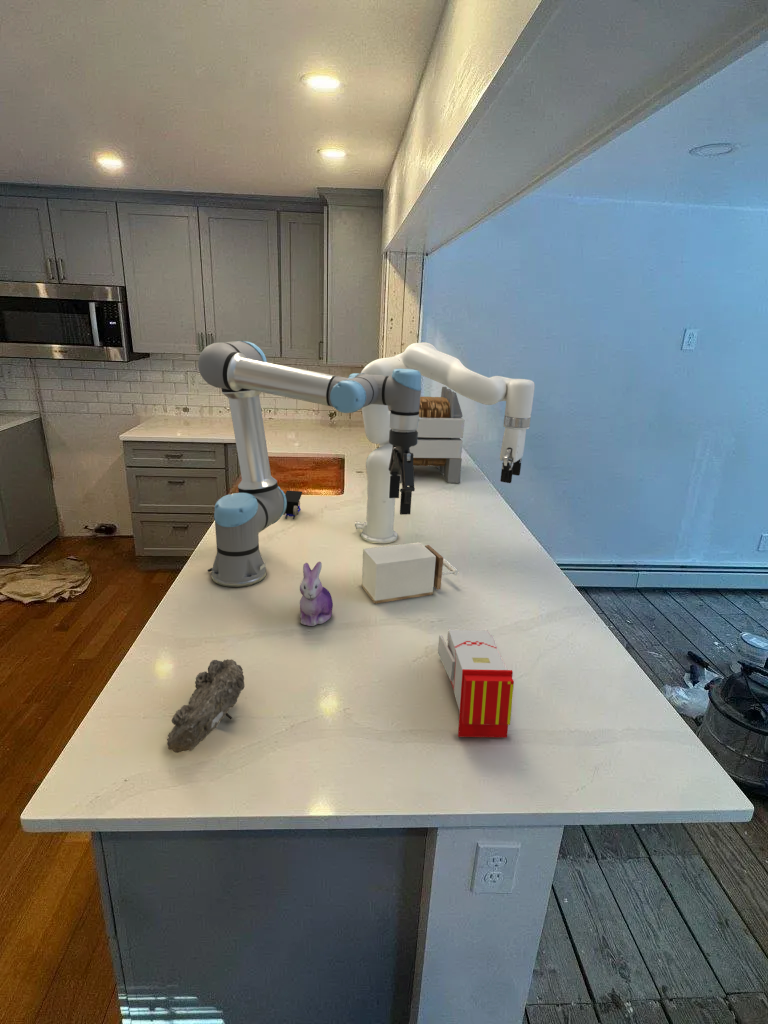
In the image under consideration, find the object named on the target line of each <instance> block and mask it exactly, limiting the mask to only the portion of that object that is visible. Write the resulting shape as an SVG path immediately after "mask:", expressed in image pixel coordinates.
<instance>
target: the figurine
mask: <svg viewBox="0 0 768 1024" xmlns="http://www.w3.org/2000/svg"><path fill="white" fill-rule="evenodd" d="M322 564H323V563H322V561H318V562H317V563H316V564H315V565H314V566H313V568H312V569H311V566H310V565H309V563H307V562H305V563H303V566H302V572H303V577H302V580H301V582H300V585H299V592H300V594H301V598H300V600H299V609H300V613H299V614H300V615H299V618H300V624H302V625H304V626H309V627H314V626H317V625H322V624H324V623H326V622H328V621H329V620H330V619H331V617H332V615H333V609H334V608H333V607H334V603H333V597H332V594H331V592H330V591H329V590H328V589H327V588H326V587H325V586H323V584H322V581H321V579H320V574H321V571H322V566H323V565H322Z"/></svg>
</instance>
